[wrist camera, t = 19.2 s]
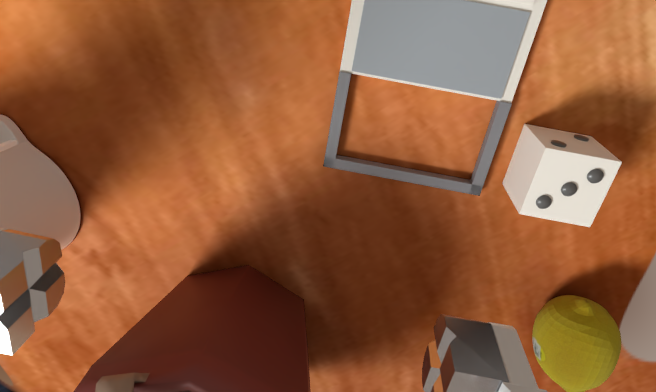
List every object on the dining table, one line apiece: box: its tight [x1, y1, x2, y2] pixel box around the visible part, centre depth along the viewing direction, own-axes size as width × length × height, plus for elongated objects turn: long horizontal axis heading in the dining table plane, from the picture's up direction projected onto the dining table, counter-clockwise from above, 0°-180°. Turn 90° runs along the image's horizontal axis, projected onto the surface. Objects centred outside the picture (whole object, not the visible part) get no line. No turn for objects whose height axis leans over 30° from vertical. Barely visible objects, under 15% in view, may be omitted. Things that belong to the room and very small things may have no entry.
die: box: [502, 124, 622, 227], centre depth 41 cm, size 6×6×6 cm
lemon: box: [532, 295, 621, 392], centre depth 48 cm, size 11×8×8 cm
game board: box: [323, 0, 547, 196], centre depth 38 cm, size 15×32×1 cm, turn 171°
